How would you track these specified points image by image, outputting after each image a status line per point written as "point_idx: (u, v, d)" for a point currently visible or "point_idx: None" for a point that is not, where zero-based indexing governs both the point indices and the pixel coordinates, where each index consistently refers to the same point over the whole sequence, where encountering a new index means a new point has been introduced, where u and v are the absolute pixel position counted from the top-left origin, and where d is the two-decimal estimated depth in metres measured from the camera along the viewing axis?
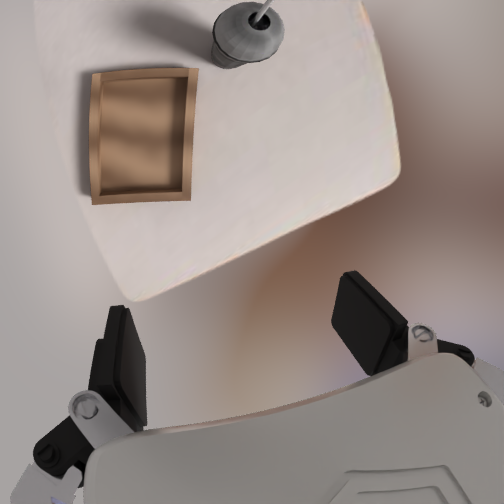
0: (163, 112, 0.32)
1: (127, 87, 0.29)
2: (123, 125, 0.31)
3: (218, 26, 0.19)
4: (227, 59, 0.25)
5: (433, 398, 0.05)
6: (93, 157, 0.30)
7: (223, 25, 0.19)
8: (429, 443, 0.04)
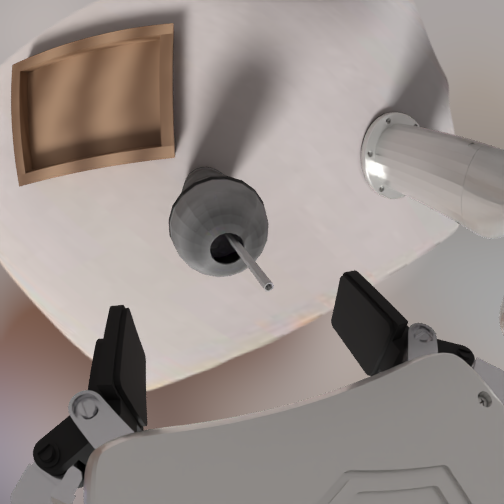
0: (115, 124, 0.23)
1: (151, 70, 0.22)
2: (100, 77, 0.21)
3: (215, 186, 0.17)
4: None
5: (433, 398, 0.05)
6: (61, 50, 0.16)
7: (215, 194, 0.17)
8: (429, 443, 0.04)
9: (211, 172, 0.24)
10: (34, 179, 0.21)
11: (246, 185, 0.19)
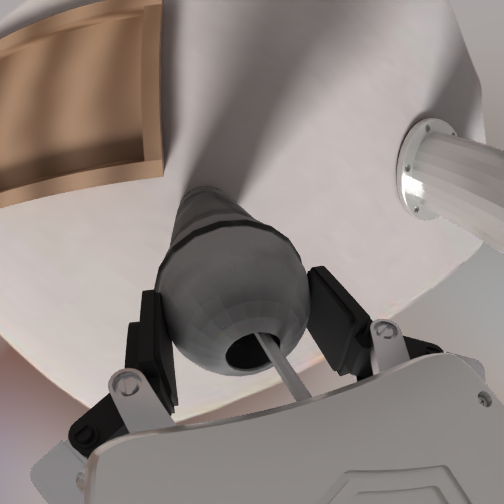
0: (84, 130, 0.16)
1: (131, 56, 0.15)
2: (64, 68, 0.13)
3: (230, 244, 0.10)
4: None
5: (433, 398, 0.05)
6: (16, 37, 0.09)
7: (231, 260, 0.10)
8: (429, 443, 0.04)
9: (216, 200, 0.17)
10: None
11: (277, 234, 0.12)
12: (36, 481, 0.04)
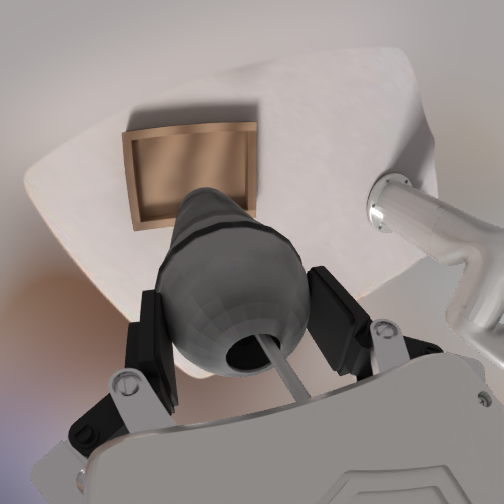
0: None
1: (237, 153, 0.38)
2: (200, 154, 0.37)
3: (230, 245, 0.10)
4: (171, 245, 0.15)
5: (433, 398, 0.05)
6: (170, 131, 0.33)
7: (231, 262, 0.10)
8: (429, 443, 0.04)
9: (216, 201, 0.17)
10: (149, 227, 0.38)
11: (277, 235, 0.12)
12: (36, 481, 0.04)
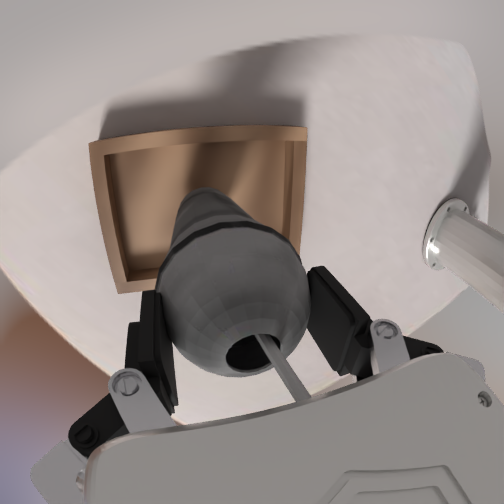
0: None
1: (274, 175, 0.25)
2: (216, 176, 0.24)
3: (230, 245, 0.10)
4: None
5: (433, 398, 0.05)
6: (168, 138, 0.19)
7: (231, 262, 0.10)
8: (429, 443, 0.04)
9: (216, 201, 0.17)
10: (140, 288, 0.25)
11: (277, 235, 0.12)
12: (36, 481, 0.04)
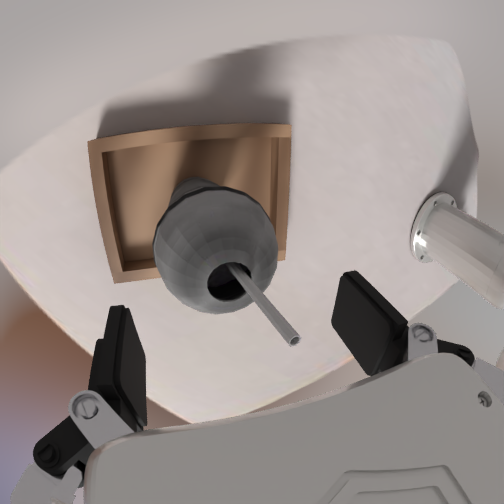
0: None
1: (261, 170, 0.27)
2: (206, 171, 0.25)
3: (211, 200, 0.13)
4: None
5: (433, 398, 0.05)
6: (161, 136, 0.21)
7: (212, 210, 0.13)
8: (429, 443, 0.04)
9: (203, 182, 0.20)
10: (135, 278, 0.26)
11: (249, 197, 0.15)
12: None
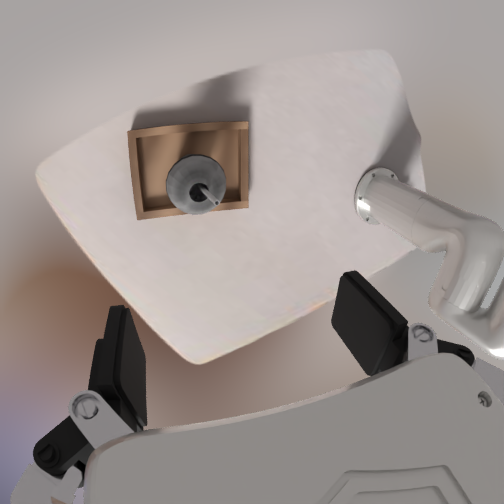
0: None
1: (231, 150, 0.42)
2: (197, 150, 0.41)
3: (193, 159, 0.29)
4: None
5: (433, 398, 0.05)
6: (171, 129, 0.36)
7: (193, 162, 0.29)
8: (429, 443, 0.04)
9: None
10: (151, 216, 0.41)
11: (212, 159, 0.31)
12: None
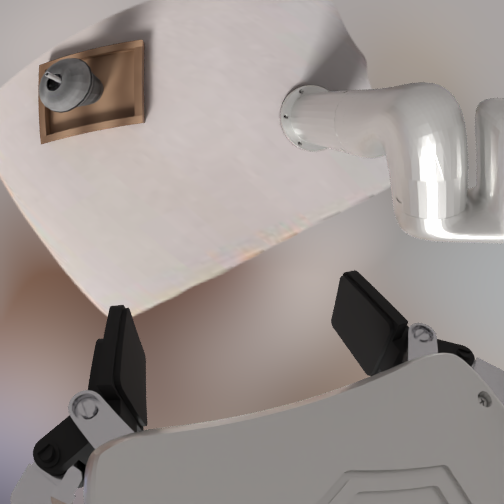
0: (107, 104, 0.35)
1: (129, 70, 0.33)
2: (98, 74, 0.32)
3: (60, 60, 0.20)
4: None
5: (433, 398, 0.05)
6: (73, 57, 0.27)
7: (58, 61, 0.20)
8: (429, 443, 0.04)
9: None
10: (52, 139, 0.33)
11: (80, 59, 0.22)
12: None
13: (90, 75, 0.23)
